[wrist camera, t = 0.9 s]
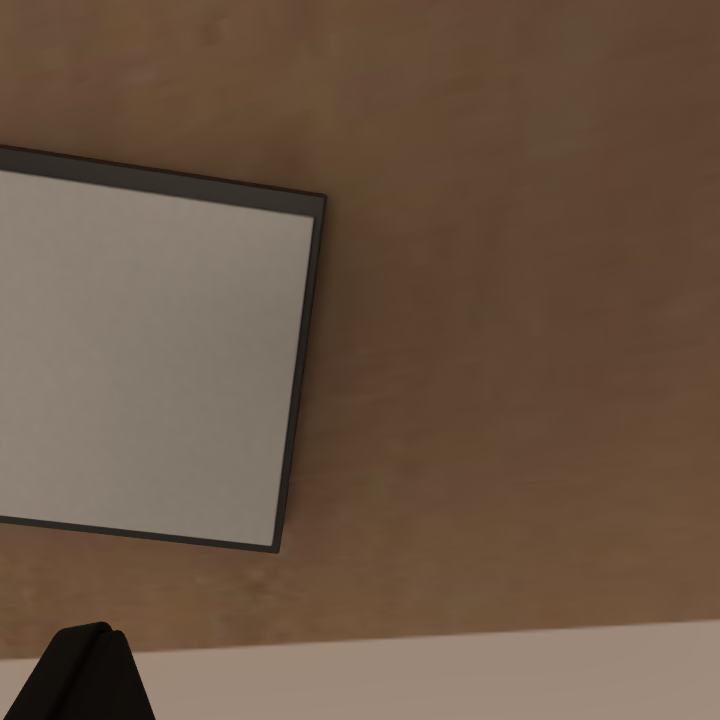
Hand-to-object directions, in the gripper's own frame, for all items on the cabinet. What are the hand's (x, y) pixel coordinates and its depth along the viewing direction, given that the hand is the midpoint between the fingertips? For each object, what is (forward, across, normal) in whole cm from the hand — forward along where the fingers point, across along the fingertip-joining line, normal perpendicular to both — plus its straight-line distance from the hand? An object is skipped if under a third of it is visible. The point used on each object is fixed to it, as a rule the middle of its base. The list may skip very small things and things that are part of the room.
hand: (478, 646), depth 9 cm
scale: (+18, +10, -1) cm, 21 cm away
